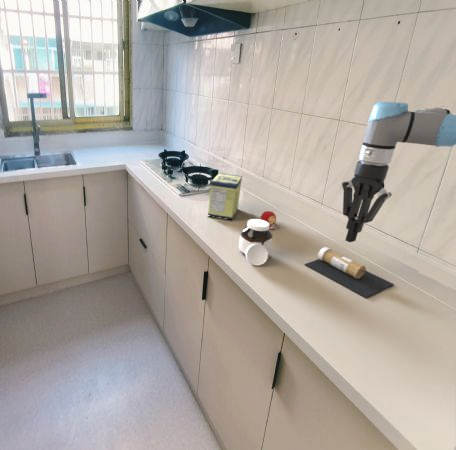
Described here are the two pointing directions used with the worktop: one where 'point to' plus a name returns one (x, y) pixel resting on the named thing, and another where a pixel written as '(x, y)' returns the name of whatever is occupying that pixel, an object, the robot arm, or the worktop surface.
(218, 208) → the protein box
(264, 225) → the spread jar
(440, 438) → the worktop surface
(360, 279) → the mat
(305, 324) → the worktop surface
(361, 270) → the spice jar
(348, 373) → the worktop surface
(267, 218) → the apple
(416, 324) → the worktop surface
